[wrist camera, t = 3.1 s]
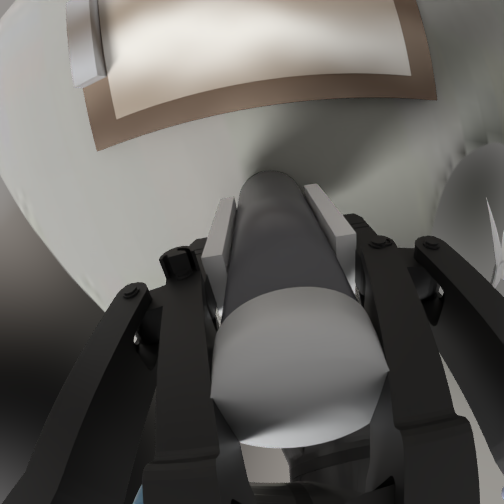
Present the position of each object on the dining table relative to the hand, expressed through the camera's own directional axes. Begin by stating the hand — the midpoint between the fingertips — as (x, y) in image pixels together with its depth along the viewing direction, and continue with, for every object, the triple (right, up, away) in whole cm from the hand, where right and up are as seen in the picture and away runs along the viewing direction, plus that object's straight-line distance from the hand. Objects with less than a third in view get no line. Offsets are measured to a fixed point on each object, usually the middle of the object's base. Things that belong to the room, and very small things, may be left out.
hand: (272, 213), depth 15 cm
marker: (0, +1, +2) cm, 2 cm away
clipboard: (-2, +13, -5) cm, 14 cm away
